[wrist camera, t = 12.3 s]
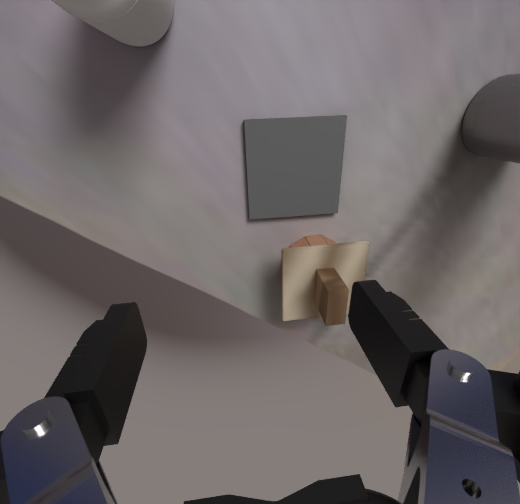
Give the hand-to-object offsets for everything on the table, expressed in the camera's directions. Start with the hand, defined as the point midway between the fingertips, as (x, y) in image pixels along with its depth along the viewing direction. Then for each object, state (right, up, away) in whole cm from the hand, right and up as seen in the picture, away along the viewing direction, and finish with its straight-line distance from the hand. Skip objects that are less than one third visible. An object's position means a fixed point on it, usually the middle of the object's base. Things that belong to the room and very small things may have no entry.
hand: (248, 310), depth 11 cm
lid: (+9, -2, +28) cm, 30 cm away
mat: (+5, +13, +26) cm, 29 cm away
